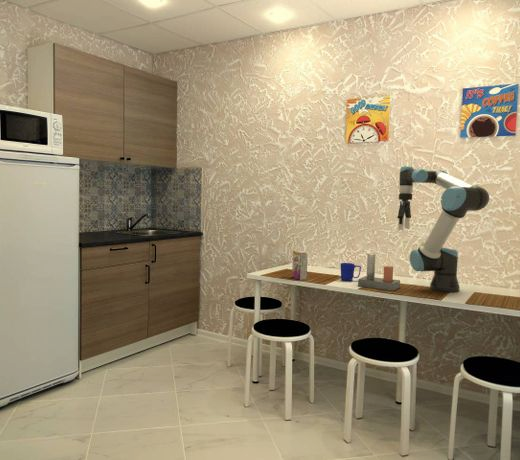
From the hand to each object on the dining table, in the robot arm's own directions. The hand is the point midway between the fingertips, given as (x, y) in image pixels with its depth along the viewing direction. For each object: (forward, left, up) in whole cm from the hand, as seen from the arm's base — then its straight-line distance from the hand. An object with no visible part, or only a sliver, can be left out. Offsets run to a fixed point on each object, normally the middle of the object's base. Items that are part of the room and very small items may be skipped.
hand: (403, 229), depth 270 cm
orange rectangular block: (+2, +21, -32) cm, 38 cm away
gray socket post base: (+7, +21, -32) cm, 39 cm away
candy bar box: (+54, +27, -32) cm, 68 cm away
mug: (+27, +13, -32) cm, 44 cm away
